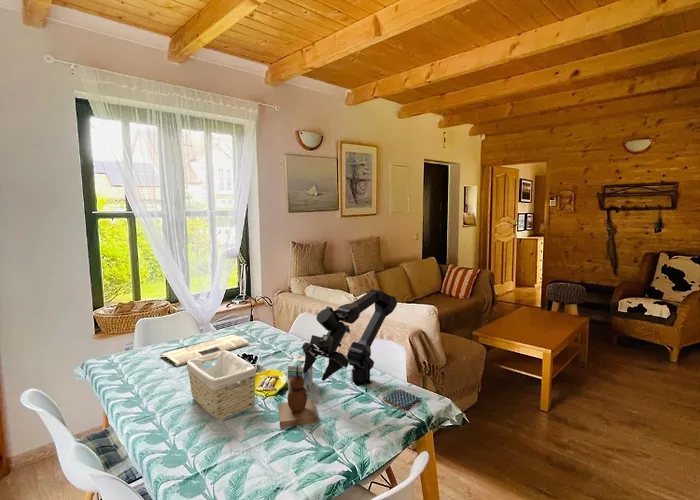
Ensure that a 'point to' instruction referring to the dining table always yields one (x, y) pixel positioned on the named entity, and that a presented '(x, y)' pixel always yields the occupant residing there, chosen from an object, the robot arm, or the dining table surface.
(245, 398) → the storage basket
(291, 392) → the wooden figurine
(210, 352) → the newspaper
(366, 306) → the robot arm
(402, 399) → the woven mat
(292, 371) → the light bulb box
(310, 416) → the light brown wooden stand
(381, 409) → the dining table surface
